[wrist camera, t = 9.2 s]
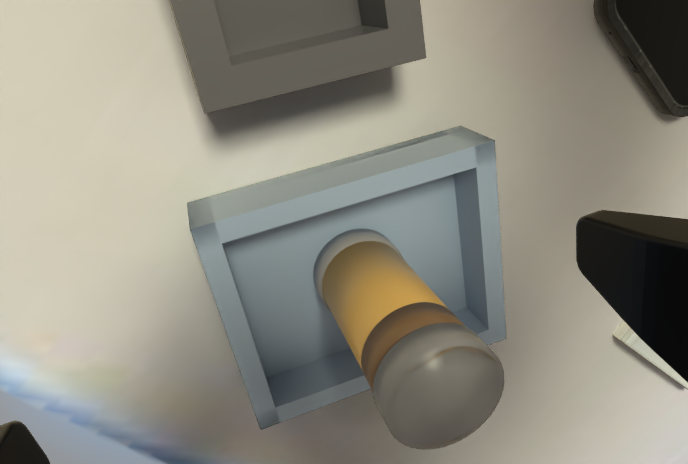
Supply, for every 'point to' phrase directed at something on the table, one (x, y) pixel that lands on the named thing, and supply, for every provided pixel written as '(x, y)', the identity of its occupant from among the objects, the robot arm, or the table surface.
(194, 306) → the table surface
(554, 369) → the table surface
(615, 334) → the hard drive
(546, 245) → the table surface
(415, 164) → the tray
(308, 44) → the holder
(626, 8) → the phone
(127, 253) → the table surface
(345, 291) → the fuse
